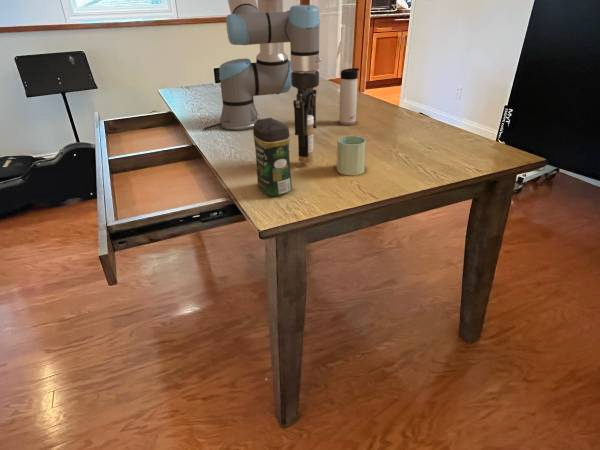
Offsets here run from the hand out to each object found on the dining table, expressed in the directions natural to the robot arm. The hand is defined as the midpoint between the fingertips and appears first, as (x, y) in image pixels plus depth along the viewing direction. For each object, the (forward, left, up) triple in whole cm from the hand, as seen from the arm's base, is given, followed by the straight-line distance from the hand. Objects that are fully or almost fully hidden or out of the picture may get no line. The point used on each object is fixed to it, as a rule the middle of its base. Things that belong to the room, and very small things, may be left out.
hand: (306, 152), depth 122 cm
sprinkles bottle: (0, 0, -3) cm, 3 cm away
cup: (+12, -6, -4) cm, 14 cm away
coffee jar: (-11, -15, -4) cm, 19 cm away
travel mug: (+22, +38, -4) cm, 44 cm away
